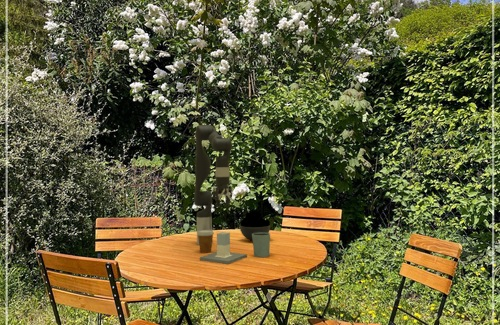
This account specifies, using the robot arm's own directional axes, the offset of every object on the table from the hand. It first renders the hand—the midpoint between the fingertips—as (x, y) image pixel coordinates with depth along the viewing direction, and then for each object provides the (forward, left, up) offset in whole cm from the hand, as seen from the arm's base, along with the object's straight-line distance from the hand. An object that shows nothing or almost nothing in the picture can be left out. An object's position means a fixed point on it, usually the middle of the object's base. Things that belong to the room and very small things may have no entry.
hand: (222, 206), depth 232 cm
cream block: (0, 0, -26) cm, 27 cm away
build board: (0, 0, -28) cm, 28 cm away
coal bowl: (-51, -11, -28) cm, 59 cm away
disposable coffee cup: (-9, -19, -28) cm, 35 cm away
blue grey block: (0, 0, -20) cm, 21 cm away
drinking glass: (-16, +14, -28) cm, 35 cm away
